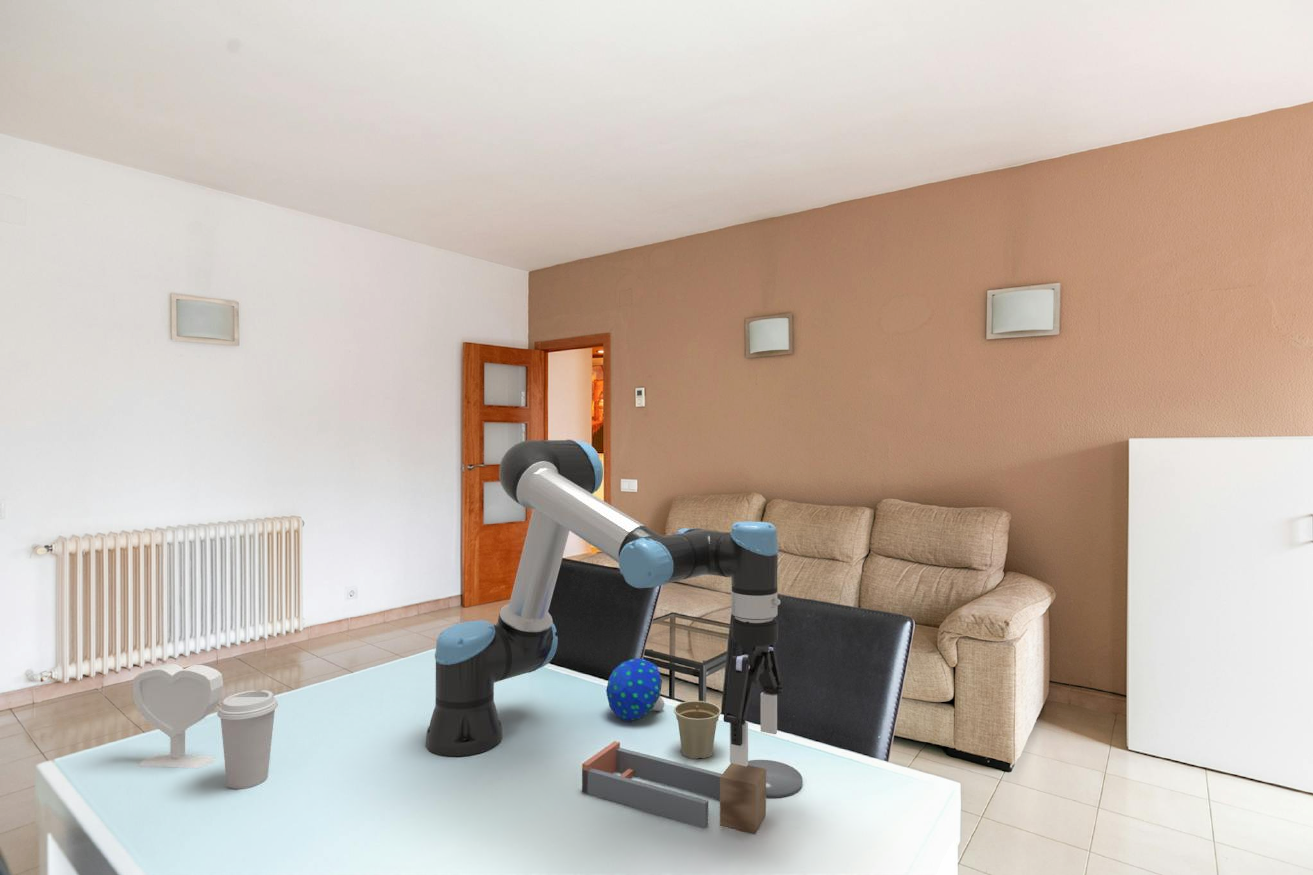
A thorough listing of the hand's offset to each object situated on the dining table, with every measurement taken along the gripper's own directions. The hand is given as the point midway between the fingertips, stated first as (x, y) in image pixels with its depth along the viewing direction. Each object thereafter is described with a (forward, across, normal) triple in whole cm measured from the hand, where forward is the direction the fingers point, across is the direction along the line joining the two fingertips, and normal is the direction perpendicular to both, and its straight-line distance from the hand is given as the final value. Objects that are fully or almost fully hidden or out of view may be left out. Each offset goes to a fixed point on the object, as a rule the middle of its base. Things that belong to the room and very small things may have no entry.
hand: (754, 747), depth 116 cm
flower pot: (+12, +19, +19) cm, 30 cm away
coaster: (+12, +15, +3) cm, 20 cm away
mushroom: (+12, +29, +39) cm, 50 cm away
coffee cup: (+12, -32, +85) cm, 92 cm away
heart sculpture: (+12, -34, +104) cm, 110 cm away
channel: (+12, 0, +18) cm, 22 cm away
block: (+12, 0, +2) cm, 13 cm away
